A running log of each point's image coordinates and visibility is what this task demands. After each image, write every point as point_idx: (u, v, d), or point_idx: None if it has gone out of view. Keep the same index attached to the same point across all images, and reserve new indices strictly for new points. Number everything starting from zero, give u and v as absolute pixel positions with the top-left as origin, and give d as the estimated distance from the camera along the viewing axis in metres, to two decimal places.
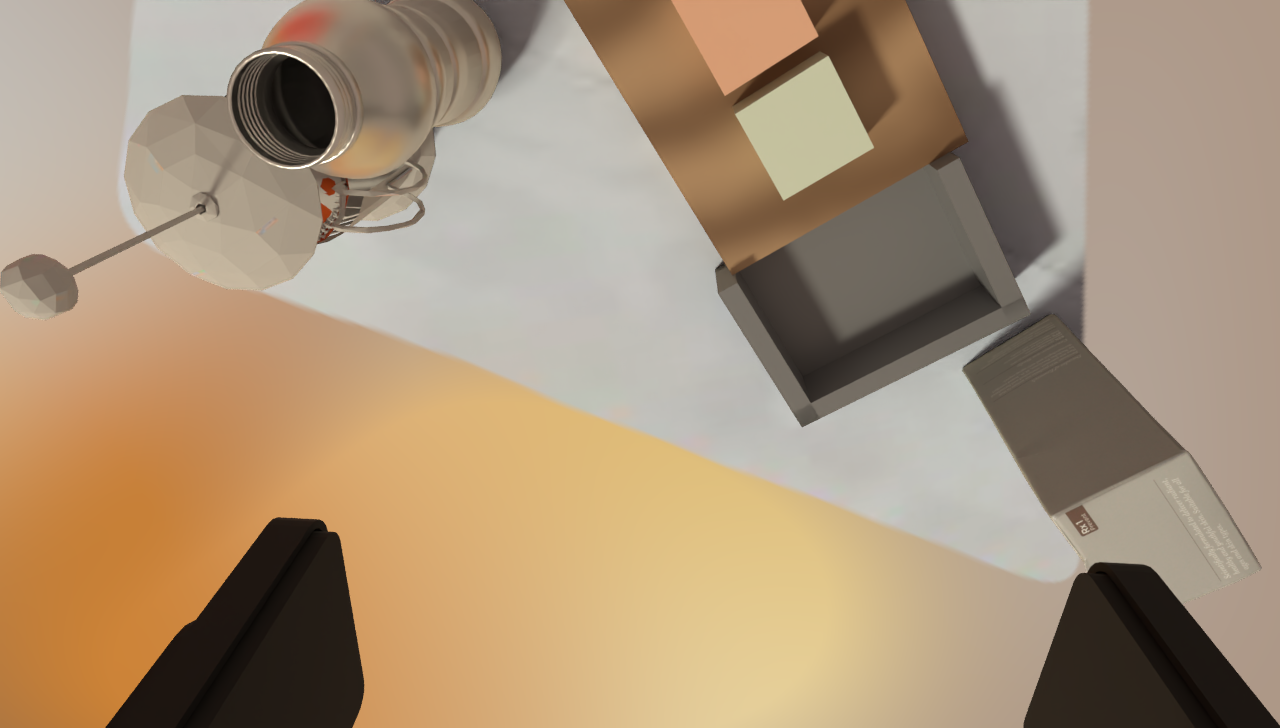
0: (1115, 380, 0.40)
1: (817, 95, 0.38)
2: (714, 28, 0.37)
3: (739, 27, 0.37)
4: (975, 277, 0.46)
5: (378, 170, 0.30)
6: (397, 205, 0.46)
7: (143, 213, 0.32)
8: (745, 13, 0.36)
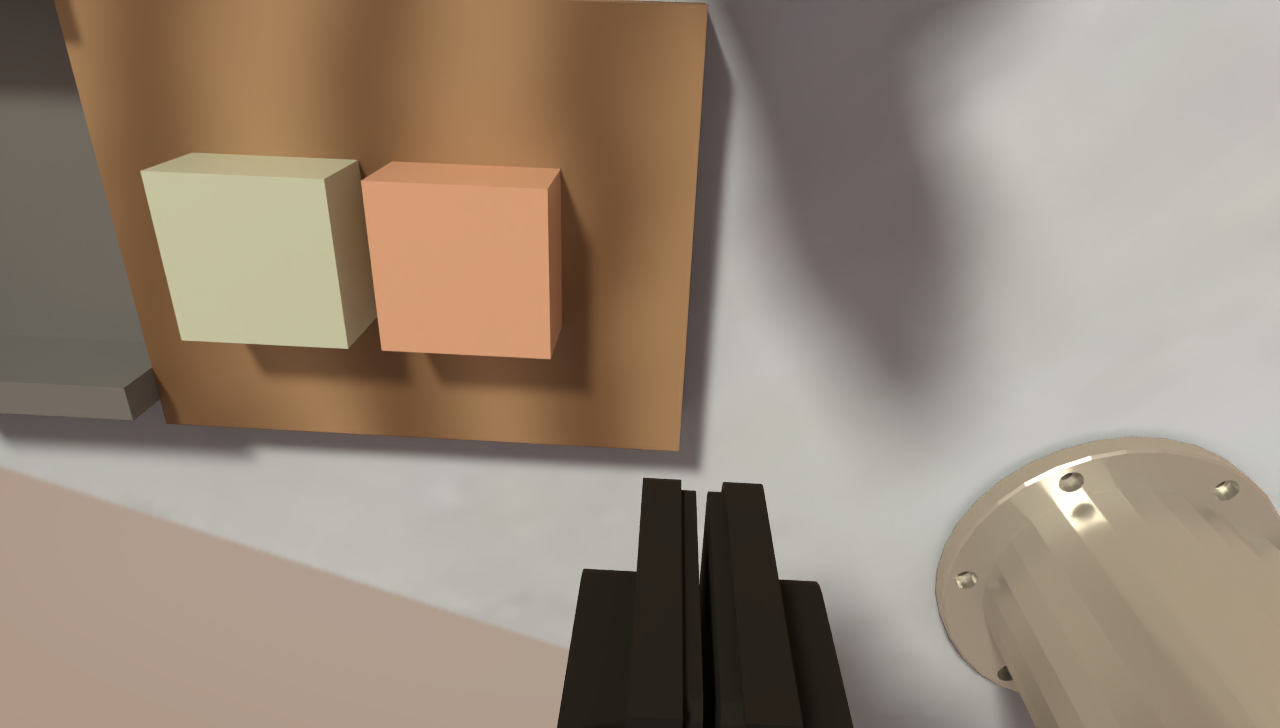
0: None
1: (297, 307, 0.23)
2: (469, 225, 0.21)
3: (451, 259, 0.22)
4: None
5: None
6: None
7: None
8: (466, 278, 0.22)
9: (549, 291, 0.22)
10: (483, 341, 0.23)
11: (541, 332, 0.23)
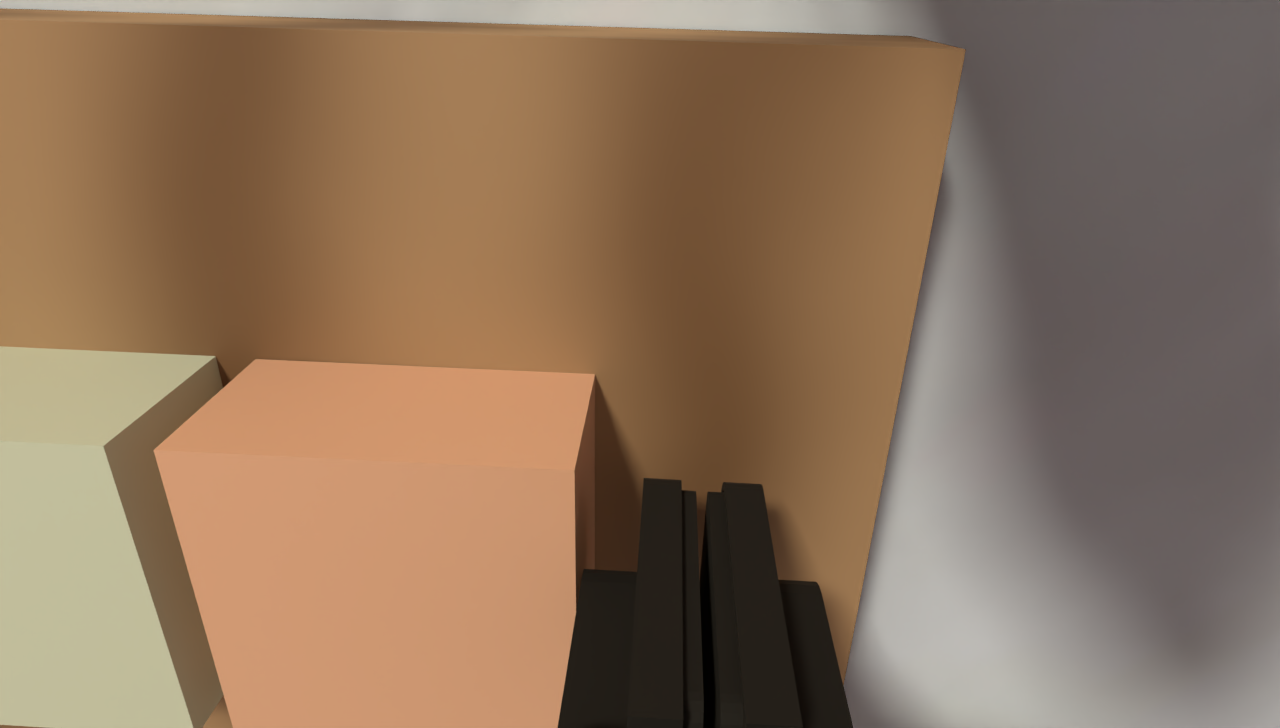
0: None
1: (83, 669, 0.11)
2: (401, 536, 0.10)
3: (365, 594, 0.10)
4: None
5: None
6: None
7: None
8: (401, 628, 0.10)
9: None
10: None
11: None
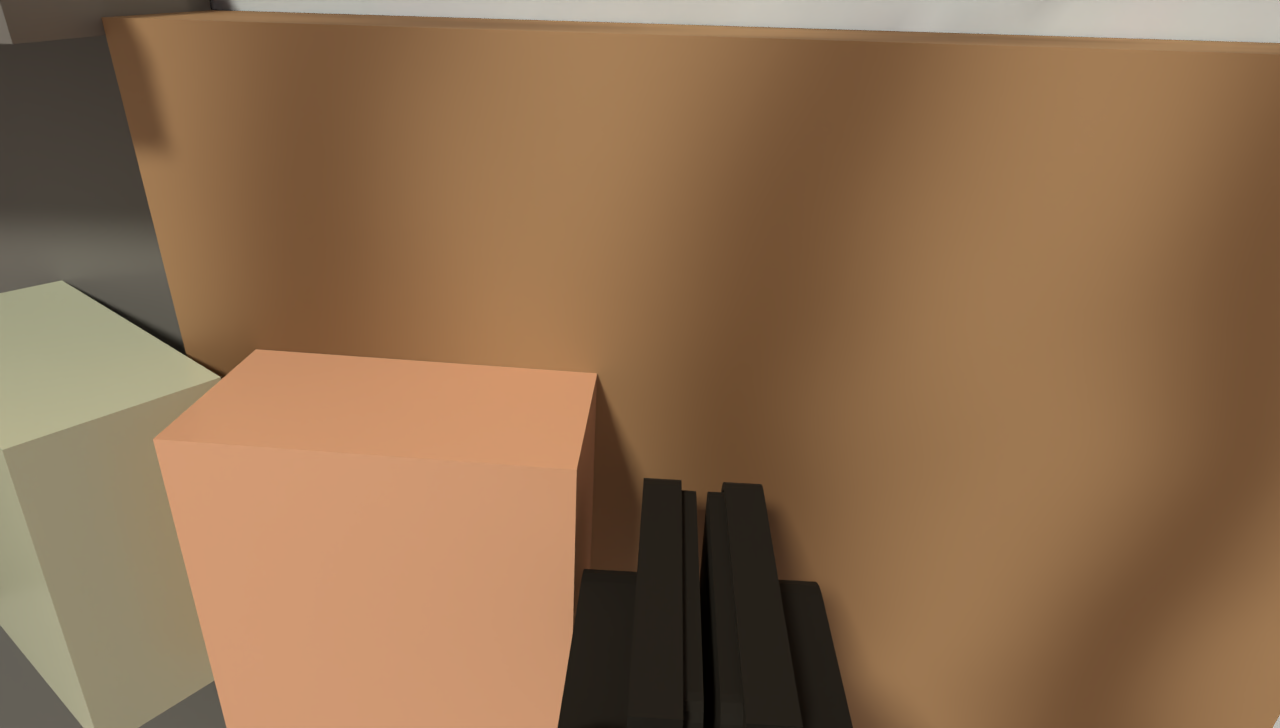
0: None
1: (39, 637, 0.11)
2: (401, 531, 0.10)
3: (362, 589, 0.10)
4: None
5: None
6: None
7: None
8: (397, 623, 0.10)
9: None
10: (433, 726, 0.11)
11: (553, 717, 0.11)
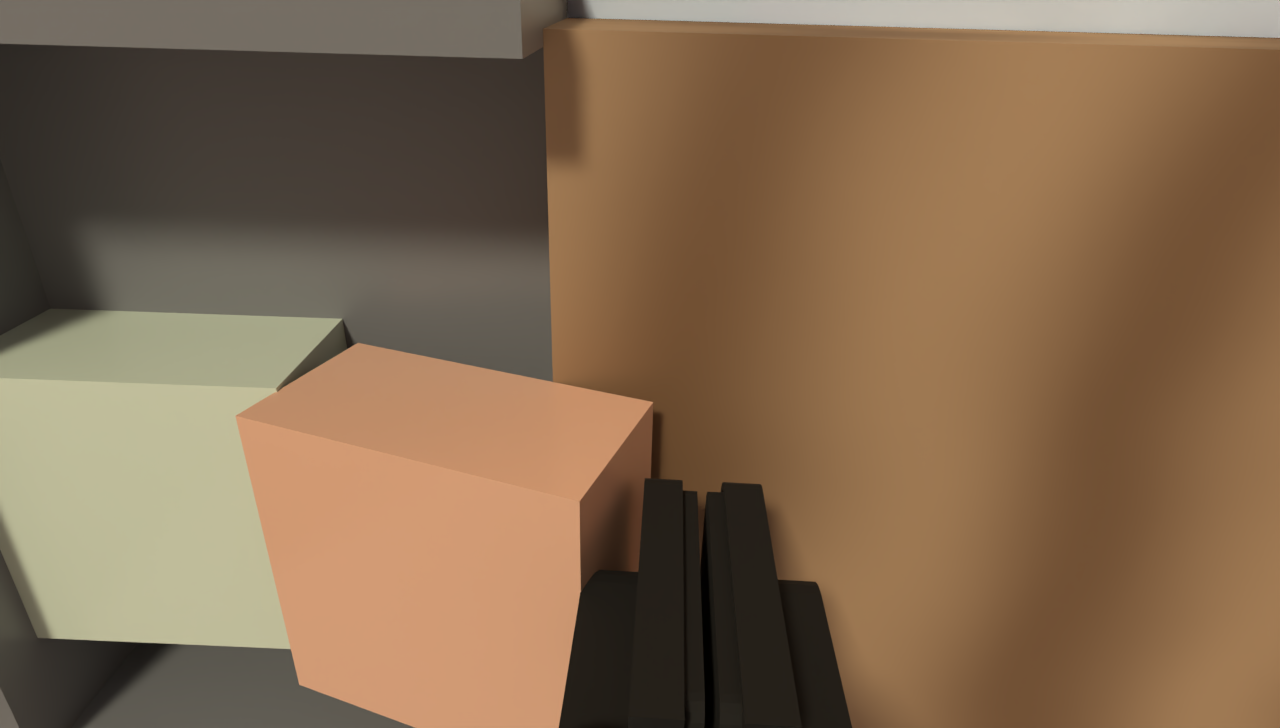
0: None
1: (236, 590, 0.13)
2: (427, 533, 0.10)
3: (397, 580, 0.11)
4: None
5: None
6: None
7: None
8: (427, 619, 0.11)
9: None
10: (461, 724, 0.12)
11: None
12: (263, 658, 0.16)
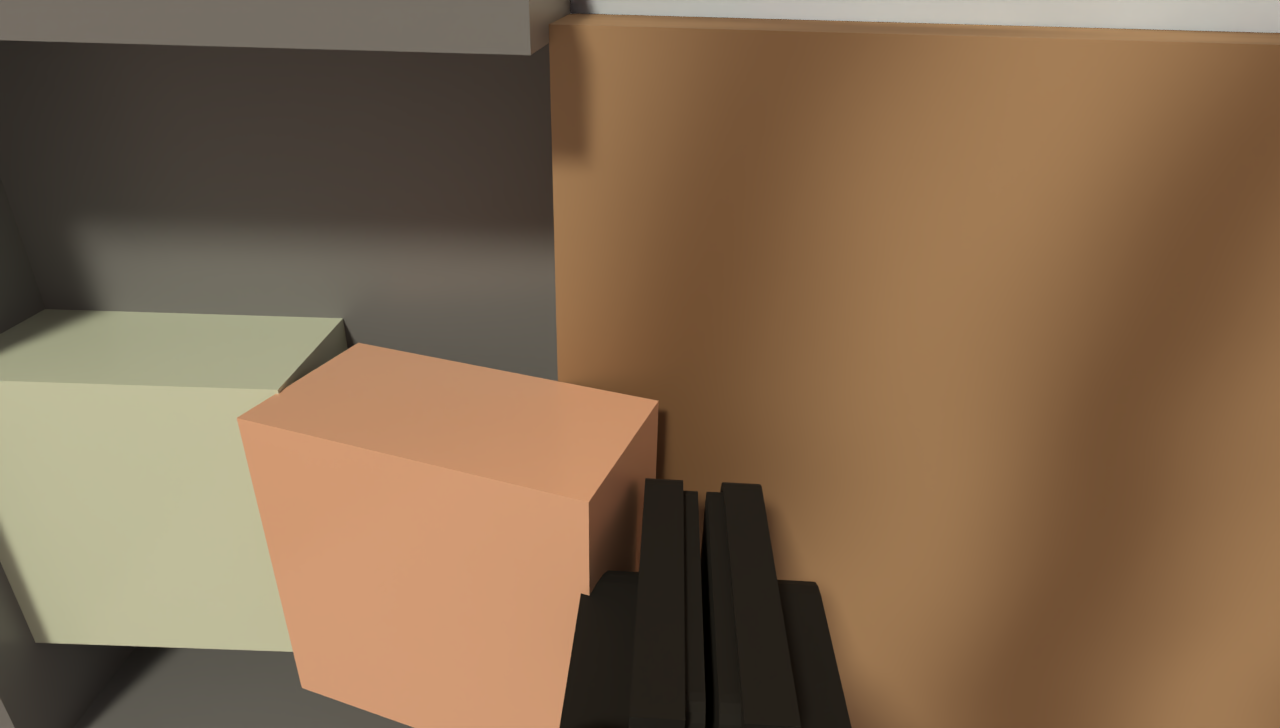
0: None
1: (238, 593, 0.13)
2: (433, 535, 0.10)
3: (402, 583, 0.11)
4: None
5: None
6: None
7: None
8: (432, 620, 0.11)
9: None
10: (466, 725, 0.11)
11: None
12: (263, 660, 0.16)
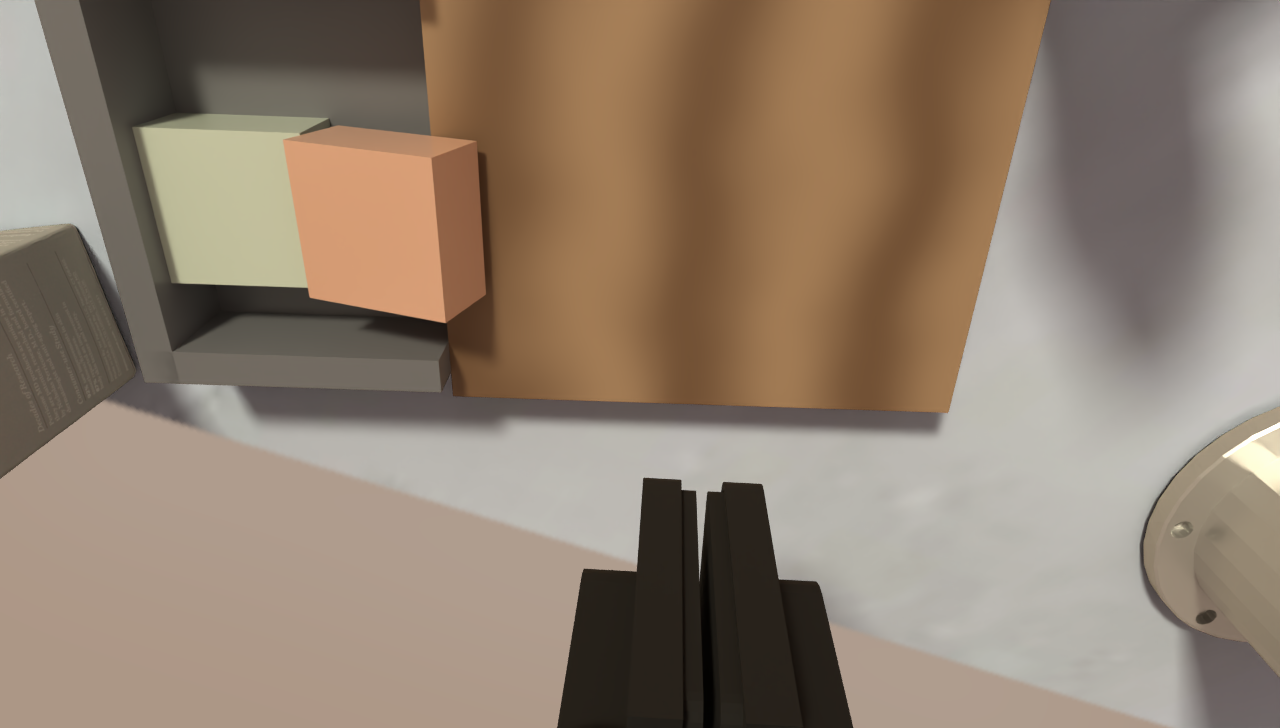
0: None
1: (276, 250, 0.25)
2: (369, 187, 0.23)
3: (357, 218, 0.23)
4: (238, 310, 0.29)
5: None
6: None
7: None
8: (371, 237, 0.24)
9: (440, 257, 0.23)
10: (388, 298, 0.24)
11: (436, 296, 0.24)
12: (285, 322, 0.28)
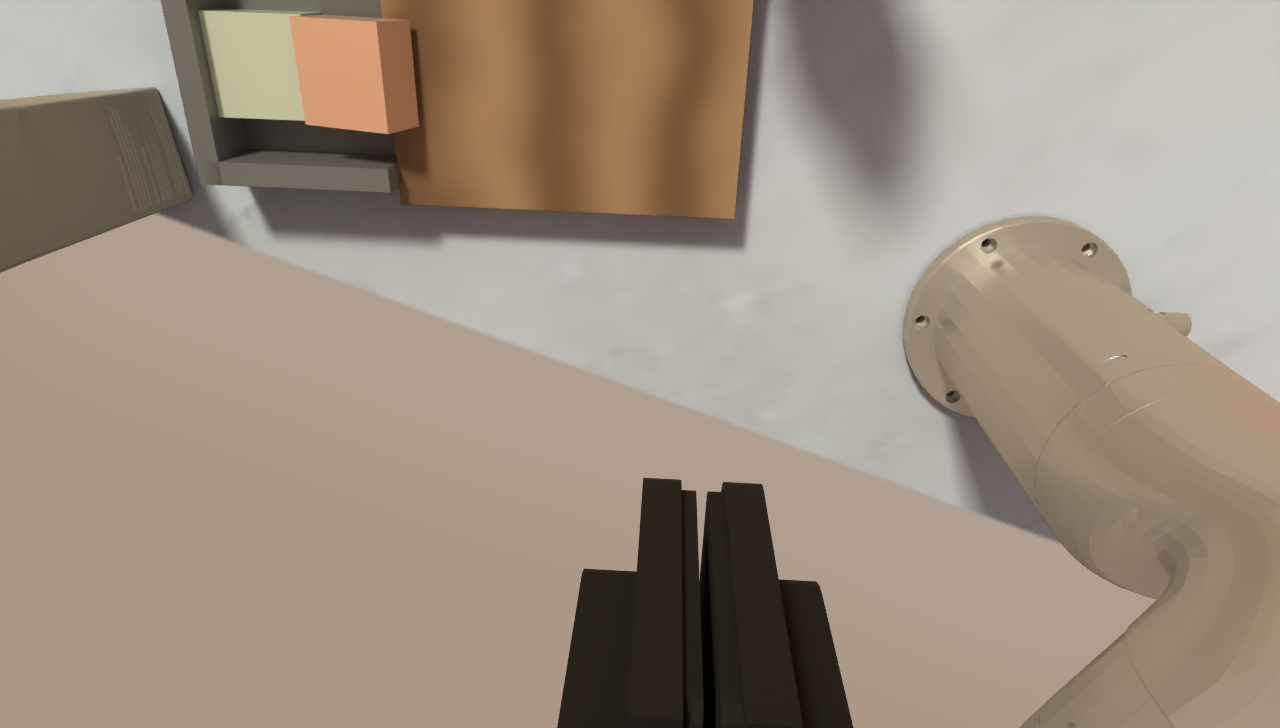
0: (95, 234, 0.37)
1: (285, 94, 0.40)
2: (341, 44, 0.37)
3: (334, 65, 0.38)
4: (261, 148, 0.43)
5: None
6: None
7: None
8: (342, 78, 0.38)
9: (384, 88, 0.37)
10: (353, 120, 0.39)
11: (382, 115, 0.38)
12: (291, 154, 0.43)
